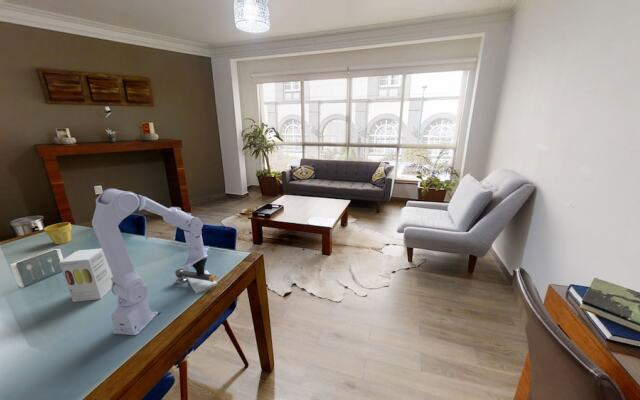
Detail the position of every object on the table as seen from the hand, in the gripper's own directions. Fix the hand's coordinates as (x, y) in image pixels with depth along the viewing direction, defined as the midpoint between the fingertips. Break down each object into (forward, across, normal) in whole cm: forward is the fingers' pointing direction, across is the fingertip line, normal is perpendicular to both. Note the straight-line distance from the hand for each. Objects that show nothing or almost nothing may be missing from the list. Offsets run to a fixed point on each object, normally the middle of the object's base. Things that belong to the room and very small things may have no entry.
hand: (201, 275), depth 101 cm
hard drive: (+4, 0, 0) cm, 4 cm away
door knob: (+3, 0, +9) cm, 10 cm away
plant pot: (+3, +29, +100) cm, 104 cm away
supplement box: (+3, -10, +38) cm, 39 cm away
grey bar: (0, -1, +2) cm, 2 cm away
